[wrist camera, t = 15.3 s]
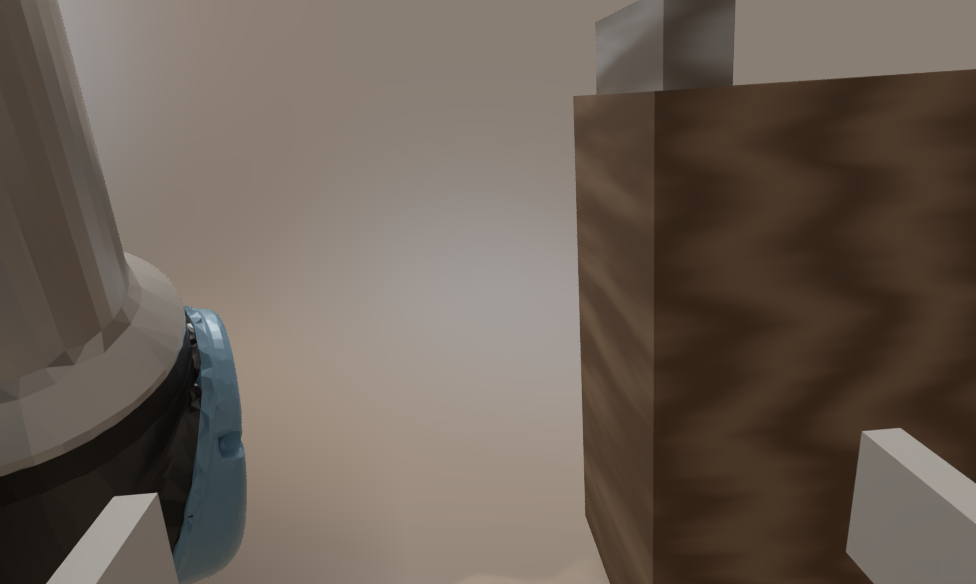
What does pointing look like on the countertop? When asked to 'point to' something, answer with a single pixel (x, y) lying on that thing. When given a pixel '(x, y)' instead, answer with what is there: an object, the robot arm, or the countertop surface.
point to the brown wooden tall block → (762, 297)
